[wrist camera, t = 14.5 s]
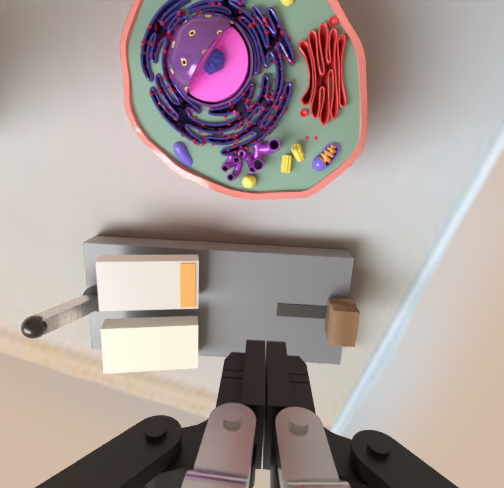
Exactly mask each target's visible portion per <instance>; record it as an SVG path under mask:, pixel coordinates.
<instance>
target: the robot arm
mask: <svg viewBox="0 0 504 488" xmlns="http://www.w3.org/2000/svg"><path fill="white" fill-rule="evenodd" d="M262 446H263V469H268V470H270V488H458V487H457V486H456V485H454V484H453V483H452V482H450V481H449V480H448V479H446V478H445V477H444V476H442V475H441V474H439V473H438V472H437V471H435V470H434V469H433V468H432V467H430V466H429V465H427V464H426V463H425V462H423V461H422V460H421V459H419V458H418V457H417V456H415V455H414V454H413V453H411V452H410V451H409V450H407V449H406V448H405V447H403V446H402V445H401V444H399V443H398V442H397V441H395V440H394V439H392V438H391V437H390V436H388V435H386V434H384V433H382V432H379V431H374V430H364V431H360V432H358V433H357V434H355V435H354V437H353V439H352V440H351V439H348V438H345V437H342V436H339V435H336V434H334V433H332V432H330V431H329V430H327V429H326V428H325V427H324V426H323V424H322V422H321V420H320V418H319V417H318V416H317V415H316V413H315V408H314V403H313V397H312V392H311V387H310V381H309V376H308V371H307V365H306V364H305V362H304V361H303V360H302V359H301V358H300V356H291V355H287V349H286V342H283V341H267V342H266V356H265V340H249V339H247V340H246V350H245V353H242V352H231V353H230V354H229V355H228V357H227V358H226V359H225V361H224V366H223V372H222V378H221V382H220V388H219V393H218V399H217V404H216V408H215V409H214V410H213V411H212V412H211V414H210V416H209V419H207V420H206V421H204V422H202V423H200V424H198V425H194V426H190V427H185V428H181V426H180V424H179V423H178V421H177V420H175V419H174V418H172V417H169V416H163V415H158V416H152V417H149V418H146V419H144V420H142V421H141V422H139V423H137V424H136V425H134V426H133V427H131V428H129V429H128V430H126V431H125V432H123V433H122V434H120V435H118V436H117V437H115V438H113V439H112V440H110V441H109V442H107V443H106V444H104V445H102V446H101V447H99V448H98V449H96V450H94V451H93V452H91V453H90V454H88V455H86V456H85V457H83V458H82V459H80V460H78V461H77V462H75V463H74V464H72V465H71V466H69V467H67V468H66V469H64V470H62V471H61V472H59V473H58V474H56V475H54V476H53V477H51V478H50V479H48V480H47V481H45V482H43V483H42V484H40V485H39V486H37V487H35V488H253V486H254V480H255V469H261V458H262Z"/></svg>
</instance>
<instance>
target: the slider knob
mask: <svg viewBox="0 0 504 488" xmlns="http://www.w3.org/2000/svg"><path fill="white" fill-rule="evenodd" d="M359 313H360V312H359V310H358V309H357V307H356V305H355V303H354V302H353V300H352V299H345V298H328V303H327V312H326V321H325V333H326V336H327V339H328V342H329V345H336V346H352V347H355V341H356V334H357V327H358V320H359Z"/></svg>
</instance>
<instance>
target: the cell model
mask: <svg viewBox="0 0 504 488" xmlns="http://www.w3.org/2000/svg"><path fill="white" fill-rule="evenodd" d="M120 57H121V64H122V71H123V84H124V104H125V109H126V113H127V115H128V118H129V120H130V123H131V125H132V127H133V129H134V130H135V132H136V134H137V135H138V136H139V138H140V139H141V140H142V142H143V143H144V144H145V145H146V146H147V147H148V148H150V149H151V150H152V151H153V152H154V153H155V154H156V155H158V156H159V157H160V158H161V159H162V160H163V161H164V162H165V163H166V164H167V165H168V166H169V167H170V168H171V169H173V170H174V171H175V172H177V173H178V174H180V175H181V176H183V177H185V178H187V179H189V180H192V181H194V182H196V183H198V184H201V185H203V186H205V187H207V188H210V189H212V190H215V191H217V192H220V193H223V194H226V195H229V196H232V197H237V198H242V199H251V200H261V199H285V198H306V197H308V196H310V195H313V194H315V193H316V192H318V191H319V190H320V189H322V188H323V187H325V186H326V185H327V184H328V183H330V182H331V181H332V180H333V179H335V178H336V177H337V176H338V175H340V174H341V173H342V172H343V171H344V170H346V169H347V168H348V167H349V166H351V165H352V163H353V162H354V161H355V159H356V158H357V157H358V155H359V154H360V153H361V151H362V149H363V146H364V143H365V140H366V132H367V110H368V109H367V78H366V60H365V53H364V48H363V46H362V43H361V41H360V39H359V37H358V36H357V34H356V32H355V31H354V29H353V27H352V26H351V24H350V22H349V21H348V19H347V17H346V15H345V13H344V12H343V10H342V8H341V6H340V4H339V2H338V0H134V1H133V4H132V6H131V9H130V12H129V14H128V17H127V20H126V22H125V25H124V28H123V31H122V36H121V41H120Z"/></svg>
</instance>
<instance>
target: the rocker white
mask: <svg viewBox="0 0 504 488" xmlns="http://www.w3.org/2000/svg"><path fill="white" fill-rule="evenodd" d="M96 276H97V289H98V303H99V311H131V310H165V309H198V295H199V257H198V255H100V257H99V258H98V259H97V260H96Z"/></svg>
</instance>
